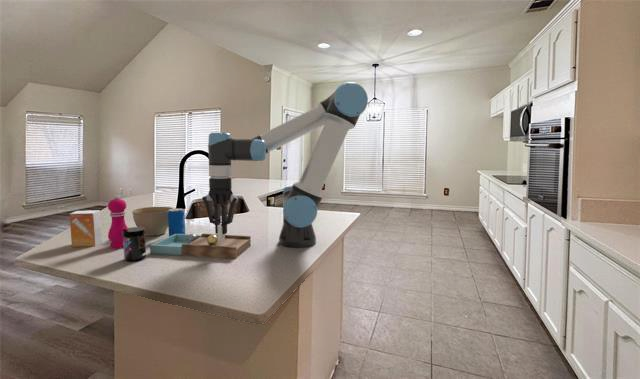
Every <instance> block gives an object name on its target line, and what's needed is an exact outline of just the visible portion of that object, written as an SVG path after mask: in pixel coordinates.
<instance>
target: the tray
mask: <svg viewBox="0 0 640 379" xmlns="http://www.w3.org/2000/svg"><path fill="white" fill-rule="evenodd" d="M190 234H191V233H189V234H187V233H185V234H174V235H172V236H169V235H168V236H167V237H165V238H163V239H160V240H158V241H156V242H153V243H152V244H150V245H149V251H150V253H149V254H150V255H165V256H177V257H178V256H180V257H182V256H183V255H182V244H189V243H188V242H187V240H186V239H187V236H188V235H190ZM195 235H196V236H197V239H198V238H200V237H202V234H195Z"/></svg>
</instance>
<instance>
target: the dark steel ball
mask: <svg viewBox="0 0 640 379" xmlns="http://www.w3.org/2000/svg"><path fill="white" fill-rule="evenodd" d="M189 234H190V235H188V236H187V239H186V240H187V242H188V243H191V242H192V241H194V240H196V239H197V236H196V235H197V234H194V233H189Z"/></svg>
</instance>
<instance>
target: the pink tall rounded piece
mask: <svg viewBox="0 0 640 379" xmlns="http://www.w3.org/2000/svg"><path fill="white" fill-rule="evenodd" d="M107 209H108V210H109V217H111V225H110V227H109V230H108V235H107V238H108V239H109V241H110V243H109V247H110V248H111V249H113V250H115V249H116V250H117V249H118V250H119V249H124V248H123V235H122V230H123V229H126V228H129V227H128V226H127V224H126V220H125V216H126V211H125V210H126V209H127V203H126V201H125V200H123V199H121V198H120V195H118V194H115V195H114V196H113V199H111V200H110V201H109V202H108V203H107Z"/></svg>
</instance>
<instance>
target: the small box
mask: <svg viewBox="0 0 640 379" xmlns="http://www.w3.org/2000/svg"><path fill="white" fill-rule="evenodd" d="M69 226H70V239H71V240H70V241H71V247H72V248H75V247H76V248H77V247H96V246H98V245H99V244H101V243H102V242H103V236H102V222H101V210H97V209H94V210H91V209H90V210H76V211H73V212H71V213H69Z"/></svg>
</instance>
